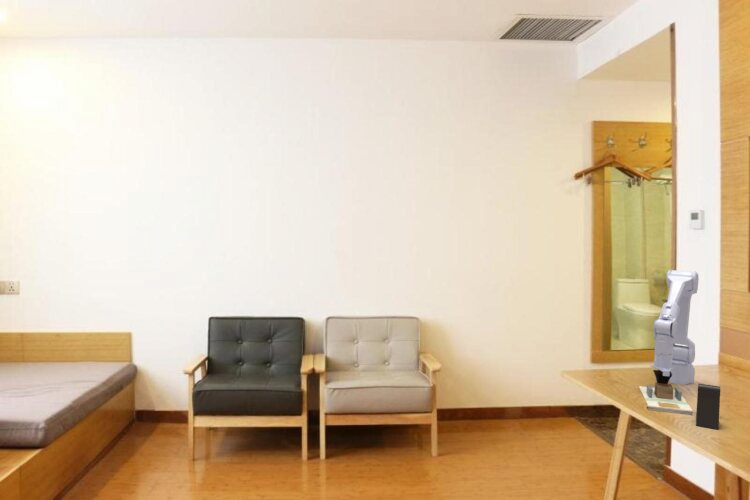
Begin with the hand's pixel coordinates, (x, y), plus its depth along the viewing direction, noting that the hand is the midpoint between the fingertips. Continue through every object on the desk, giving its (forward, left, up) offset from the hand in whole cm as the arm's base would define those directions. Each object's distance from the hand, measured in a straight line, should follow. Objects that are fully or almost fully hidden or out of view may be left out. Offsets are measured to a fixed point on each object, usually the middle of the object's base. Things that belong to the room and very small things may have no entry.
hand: (661, 391), depth 204 cm
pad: (+7, +7, -2) cm, 10 cm away
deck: (+4, +4, -2) cm, 6 cm away
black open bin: (+10, +23, -2) cm, 26 cm away
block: (+3, +3, -1) cm, 4 cm away
